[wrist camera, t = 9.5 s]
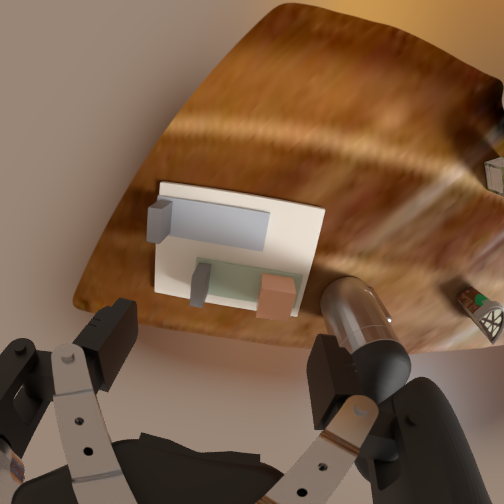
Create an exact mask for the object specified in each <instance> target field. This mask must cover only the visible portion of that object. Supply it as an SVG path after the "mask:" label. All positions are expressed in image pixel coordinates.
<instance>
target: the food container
mask: <svg viewBox="0 0 504 504" xmlns="http://www.w3.org/2000/svg"><path fill="white" fill-rule="evenodd" d="M456 299H457V300H458V301H459V303H460V304H461V305H462V307H463V308H464V310H465V311H466V313H467V314H468V315H469V317H470V318H471V319H472V320H473V322H474V323H475V324H476V325H477V326H478V327H479V328H480V330H481V331H482V332H483V333H484V334H485V335H486V337H487V338H488V339H489V341H490V342H491V343H492V344H493V345H494V343H495V342H496V341H497V340H498V338H499V337H500V335H501V333H502V331H503V329H504V310H503V308H502V306H501V305H500V303H498V302H496V301H491V300H489V299H488V298H487V297H485V296H484V295H483V294H481V293H480V292H479V291H477V290H476V289H474V288H469V289H466V290H464V291H462V292H461V293H460V294H458V295H457V296H456Z"/></svg>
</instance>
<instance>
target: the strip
mask: <svg viewBox="0 0 504 504" xmlns="http://www.w3.org/2000/svg"><path fill="white" fill-rule="evenodd" d="M269 217H270V213H269V212H263V211H257V210H252V209H246V208H240V207H234V206H228V205H221V204H215V203H209V202H202V201H196V200H189V199H182V198H175V197H168V196H161V195H159V196H158V197H157V202H156V203H154V204H153V205H151V206H149V207H148V219H147V241H146V242H151V243H156V244H160V243H161V242H162V241H163V240H164V239H165V238H166V237H167V236H173V237H179V238H185V239H191V240H197V241H202V242H208V243H214V244H220V245H226V246H232V247H238V248H244V249H249V250H255V251H261V252H263V248H264V243H265V238H266V233H267V228H268V223H269Z"/></svg>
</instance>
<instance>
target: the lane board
mask: <svg viewBox="0 0 504 504" xmlns="http://www.w3.org/2000/svg"><path fill="white" fill-rule="evenodd" d="M159 195H161V196H168V197H175V198H182V199H189V200H196V201H202V202H209V203H215V204H221V205H228V206H234V207H240V208H246V209H252V210H257V211H263V212H269V213H270V217H269V223H268V228H267V233H266V238H265V243H264V248H263V252H261V251H255V250H249V249H244V248H238V247H232V246H226V245H220V244H214V243H208V242H202V241H197V240H191V239H185V238H179V237H173V236H167V237H166V238H165V239H164V240H163V241H162V242H161V243H160V244H156V255H155V292H158V293H163V294H167V295H172V296H177V297H182V298H187V299H190V292H191V279H192V275H193V273H194V271H195V265H196V258H197V257H199V258H204V259H210V260H216V261H222V262H227V263H233V264H239V265H245V266H251V267H257V268H263V269H269V270H275V271H281V272H287V273H293V274H299V275H303V279H302V283H301V287H300V290H299V294H298V298H297V301H296V305H295V308H292V311H291V315H290V316H296V317H297V315H298V311H299V308H300V304H301V301H302V298H303V294H304V290H305V287H306V283H307V280H308V276H309V272H310V269H311V265H312V261H313V257H314V254H315V250H316V246H317V242H318V238H319V234H320V230H321V226H322V222H323V217H324V213H325V209H324V208H322V207H317V206H312V205H307V204H302V203H297V202H292V201H286V200H281V199H276V198H270V197H264V196H259V195H253V194H247V193H241V192H235V191H229V190H222V189H216V188H209V187H202V186H195V185H188V184H181V183H173V182H165V181H162V182H160V191H159ZM205 302H209V303H214V304H220V305H225V306H231V307H237V308H243V309H249V310H255V311H256V303H255V302H249V301H243V300H237V299H231V298H226V297H220V296H214V295H209V294H207V297H206V300H205Z"/></svg>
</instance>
